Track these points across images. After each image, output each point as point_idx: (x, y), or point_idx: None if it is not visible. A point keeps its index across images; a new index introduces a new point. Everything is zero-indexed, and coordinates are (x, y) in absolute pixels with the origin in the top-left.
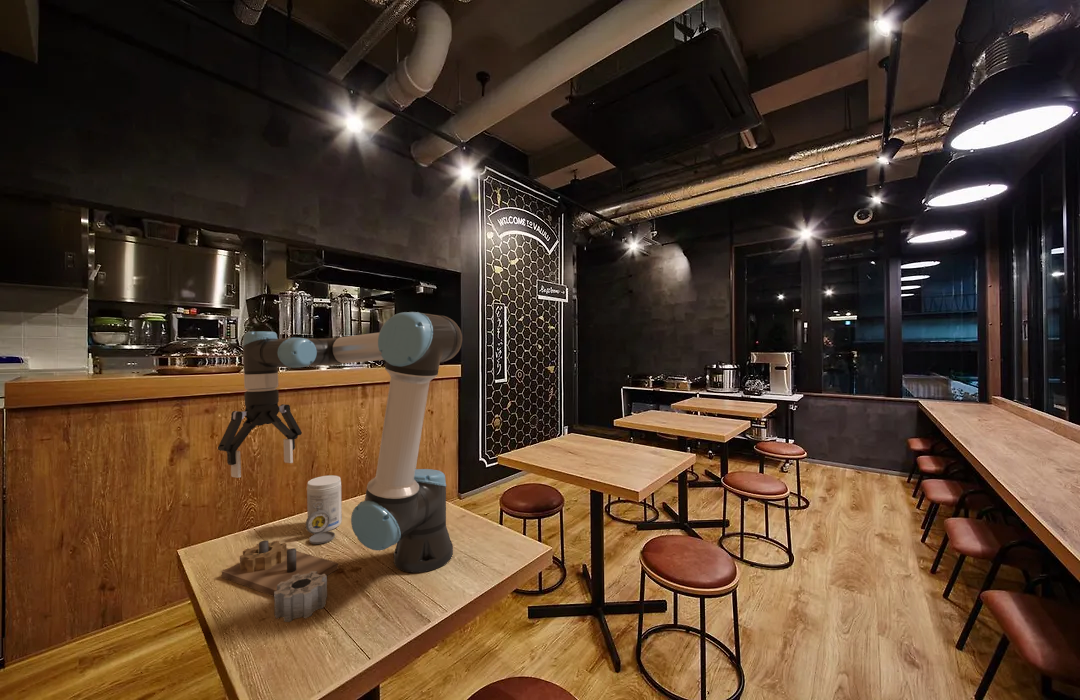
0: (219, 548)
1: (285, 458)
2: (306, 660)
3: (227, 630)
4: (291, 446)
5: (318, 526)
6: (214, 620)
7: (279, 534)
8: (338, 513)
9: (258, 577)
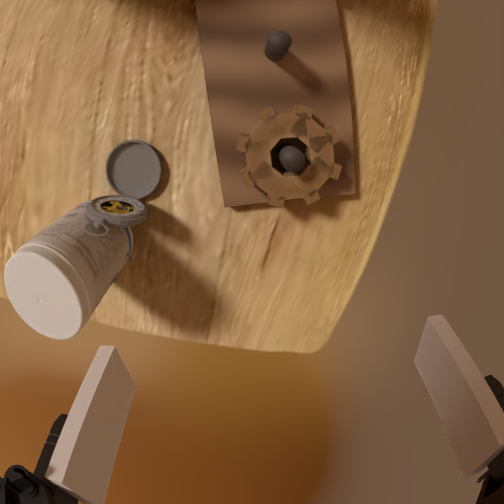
0: (286, 318)
1: (125, 397)
2: None
3: (419, 12)
4: (67, 434)
5: None
6: (421, 54)
7: (183, 282)
8: (66, 213)
9: (332, 90)
